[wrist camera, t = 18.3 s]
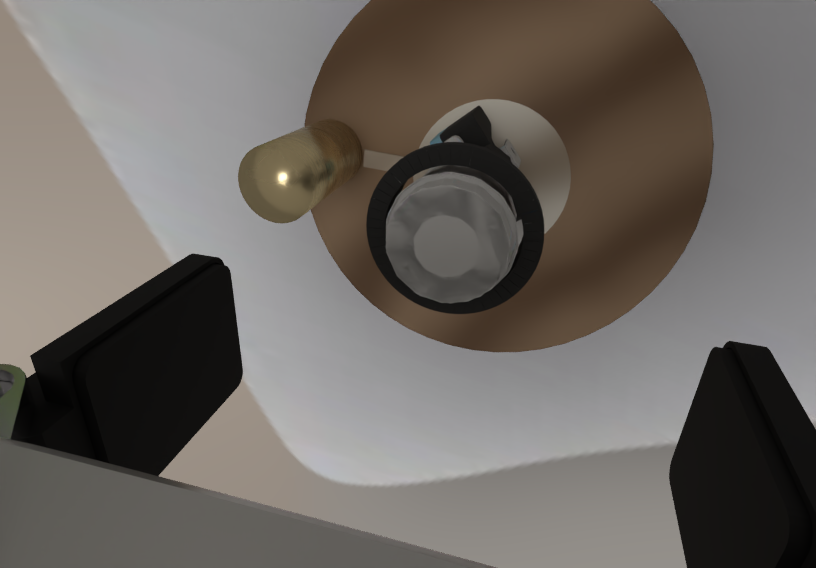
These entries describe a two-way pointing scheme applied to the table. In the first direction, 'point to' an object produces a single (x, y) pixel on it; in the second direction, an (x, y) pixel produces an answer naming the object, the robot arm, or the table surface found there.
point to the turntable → (531, 138)
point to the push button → (457, 221)
